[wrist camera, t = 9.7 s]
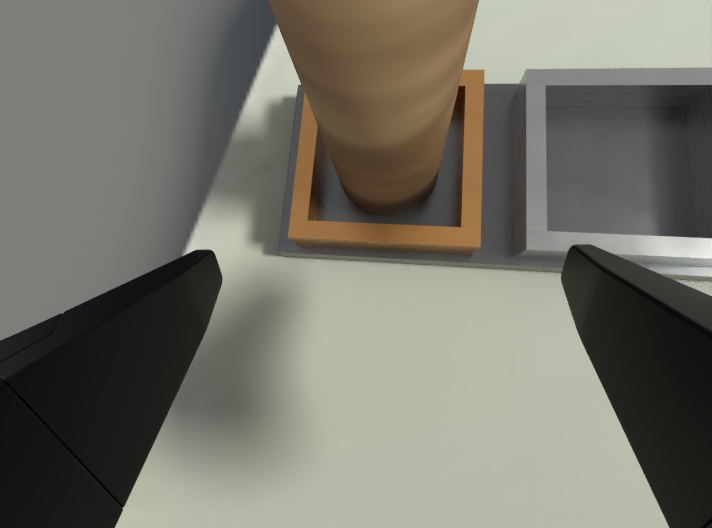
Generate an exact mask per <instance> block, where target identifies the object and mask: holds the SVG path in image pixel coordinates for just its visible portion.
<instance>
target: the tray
mask: <svg viewBox="0 0 712 528" xmlns="http://www.w3.org/2000/svg"><path fill="white" fill-rule="evenodd" d="M576 244H590V245H593V246H596V247H598V248H600V249H603V250H605V251H607V252H610V253H612V254H614V255H617V256H619V257H621V258H624V259H626V260H628V261H631V262H633V263H635V264H638V265H640V266H642V267H645V268H647V269H649V270H652V271H654V272H656V273H659V274H661V275H663V276H666V277H668V278H670V279H683V280H700V281H712V68H621V69H526V71H525V73H524V75H523V77H522V79H521V81H520V83H519V84H484V70H462V75H461V79H460V83H459V87H458V92H457V96H456V100H455V104H454V109H453V113H452V117H451V121H450V126H449V130H448V134H447V139H446V143H445V147H444V151H443V156H442V160H441V164H440V168H439V173H438V177H437V180H436V183H435V186H434V188H433V190H432V191H431V193H430V194H429V196H428V197H427V198H426V199H425V200H424V201H423V202H422V203H421V204H420V205H418V206H417V207H415V208H413V209H412V210H410V211H407V212H405V213H402V214H397V215H390V216H386V215H376V214H372V213H369V212H367V211H364V210H363V209H361V208H359V207H358V206H356V205H355V204H354V203H353V202H352V201H351V200H350V199H349V198H348V196H347V195H346V194H345V192H344V190H343V188H342V185H341V183H340V180H339V178H338V175H337V173H336V170H335V168H334V165H333V163H332V160H331V158H330V155H329V153H328V150H327V147H326V145H325V142H324V140H323V137H322V135H321V132H320V130H319V127H318V125H317V122H316V120H315V117H314V115H313V112H312V110H311V107H310V105H309V102H308V100H307V97H306V95H305V92H304V90H303V87H302V85H298V92H297V100H296V108H295V117H294V125H293V133H292V141H291V150H290V158H289V166H288V175H287V183H286V191H285V199H284V208H283V216H282V224H281V233H280V241H279V249H278V252H279V253H280V254H282V255H283V256H285V257H303V258H320V259H337V260H355V261H372V262H389V263H406V264H424V265H441V266H458V267H476V268H493V269H510V270H528V271H545V272H562V270H563V266H564V263H565V260H566V256H567V253H568V250H569V248H570V247H571V246H572V245H576Z"/></svg>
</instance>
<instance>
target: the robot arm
mask: <svg viewBox="0 0 712 528" xmlns="http://www.w3.org/2000/svg"><path fill="white" fill-rule="evenodd" d="M561 282H562V285H563V288H564V292H565V295H566V298H567V301H568V304H569V307H570V310H571V313H572V316H573V319H574V322H575V325H576V328H577V331H578V334H579V336H580V338H581V341H582V343H583V345H584V347H585V349H586V352H587V354H588V356H589V358H590V360H591V362H592V364H593V366H594V369H595V371H596V373H597V375H598V377H599V379H600V381H601V383H602V386H603V388H604V390H605V392H606V394H607V396H608V398H609V400H610V402H611V405H612V407H613V409H614V411H615V413H616V415H617V417H618V419H619V422H620V424H621V426H622V428H623V430H624V432H625V434H626V436H627V439H628V441H629V443H630V445H631V447H632V449H633V451H634V453H635V456H636V458H637V460H638V462H639V464H640V466H641V468H642V470H643V473H644V475H645V477H646V479H647V481H648V483H649V485H650V487H651V489H652V492H653V494H654V496H655V498H656V500H657V502H658V504H659V506H660V509H661V511H662V513H663V515H664V517H665V519H666V521H667V523H668V526H669V528H712V296H710V295H707V294H705V293H703V292H700V291H698V290H696V289H693V288H691V287H689V286H686V285H684V284H682V283H679V282H677V281H675V280H672V279H670V278H668V277H666V276H663V275H661V274H659V273H656V272H654V271H652V270H649V269H647V268H645V267H642V266H640V265H638V264H635V263H633V262H631V261H628V260H626V259H624V258H621V257H619V256H617V255H614V254H612V253H610V252H607V251H605V250H603V249H600V248H598V247H596V246H593V245H590V244H576V245H572V246H571V247H570V248H569V250H568V253H567V256H566V260H565V263H564V266H563V270H562V273H561ZM221 285H222V274H221V271H220V268H219V265H218V262H217V259H216V256H215V254H214V252H213V251H211V250H195V251H193V252H191V253H189V254H186V255H184V256H182V257H180V258H178V259H176V260H174V261H172V262H169V263H167V264H165V265H163V266H161V267H159V268H157V269H154V270H152V271H150V272H148V273H146V274H144V275H142V276H140V277H137V278H135V279H133V280H131V281H129V282H127V283H125V284H122V285H120V286H119V287H116V288H114V289H112V290H110V291H108V292H106V293H103V294H101V295H99V296H97V297H95V298H93V299H91V300H88V301H86V302H84V303H82V304H80V305H78V306H76V307H74V308H71V309H69V310H67V311H65V312H64V313H63V314H59V315H56V316H54V317H52V318H50V319H48V320H46V321H44V322H41V323H39V324H37V325H35V326H32V327H30V328H28V329H27V330H24V331H22V332H20V333H17V334H15V335H13V336H10V337H8V338H6V339H3V340H1V341H0V528H115V526H116V524H117V522H118V520H119V517H120V515H121V513H122V511H123V507H124V506H125V504H126V502H127V500H128V498H129V495H130V493H131V491H132V489H133V487H134V485H135V482H136V480H137V478H138V476H139V474H140V472H141V470H142V467H143V465H144V463H145V461H146V459H147V457H148V455H149V452H150V450H151V448H152V446H153V444H154V442H155V440H156V437H157V435H158V433H159V431H160V429H161V427H162V424H163V422H164V420H165V418H166V416H167V414H168V412H169V409H170V407H171V405H172V403H173V401H174V399H175V397H176V394H177V392H178V390H179V388H180V386H181V384H182V382H183V379H184V377H185V375H186V373H187V371H188V369H189V367H190V364H191V362H192V360H193V358H194V356H195V354H196V351H197V349H198V347H199V345H200V343H201V341H202V339H203V336H204V334H205V332H206V329H207V327H208V324H209V321H210V318H211V315H212V312H213V309H214V306H215V303H216V300H217V297H218V294H219V291H220V288H221Z"/></svg>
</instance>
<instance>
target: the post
mask: <svg viewBox="0 0 712 528" xmlns="http://www.w3.org/2000/svg"><path fill="white" fill-rule="evenodd" d="M268 1H269V4H270V6H271V9H272V11H273V14H274V16H275V19H276V22H277V24H278V27H279V29H280V32H281V34H282V37H283V39H284V42H285V44H286V47H287V49H288V52H289V54H290V57H291V59H292V62H293V64H294V67H295V69H296V72H297V74H298V77H299V79H300V82H301V85H302V87H303V90H304V92H305V95H306V97H307V100H308V102H309V105H310V107H311V110H312V112H313V115H314V117H315V120H316V122H317V125H318V127H319V130H320V132H321V135H322V137H323V140H324V142H325V145H326V147H327V150H328V153H329V155H330V158H331V160H332V163H333V165H334V168H335V170H336V173H337V175H338V178H339V180H340V183H341V185H342V188H343V190H344V192H345V194H346V195H347V196H348V198H349V199H350V200H351V201H352V202H353V203H354V204H355V205H356V206H358V207H359V208H361V209H363V210H364V211H367V212H369V213H372V214H376V215H386V216H390V215H397V214H402V213H405V212H407V211H410V210H412V209H413V208H415V207H417V206H418V205H420V204H421V203H422V202H423V201H424V200H425V199H426V198H427V197H428V196H429V194H430V193H431V191H432V190H433V188H434V186H435V183H436V180H437V177H438V173H439V168H440V164H441V160H442V156H443V151H444V147H445V143H446V139H447V134H448V130H449V126H450V121H451V117H452V113H453V109H454V104H455V100H456V96H457V92H458V87H459V83H460V79H461V75H462V70H463V66H464V62H465V57H466V53H467V49H468V45H469V40H470V36H471V32H472V28H473V23H474V19H475V15H476V11H477V6H478V2H479V0H268Z"/></svg>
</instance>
